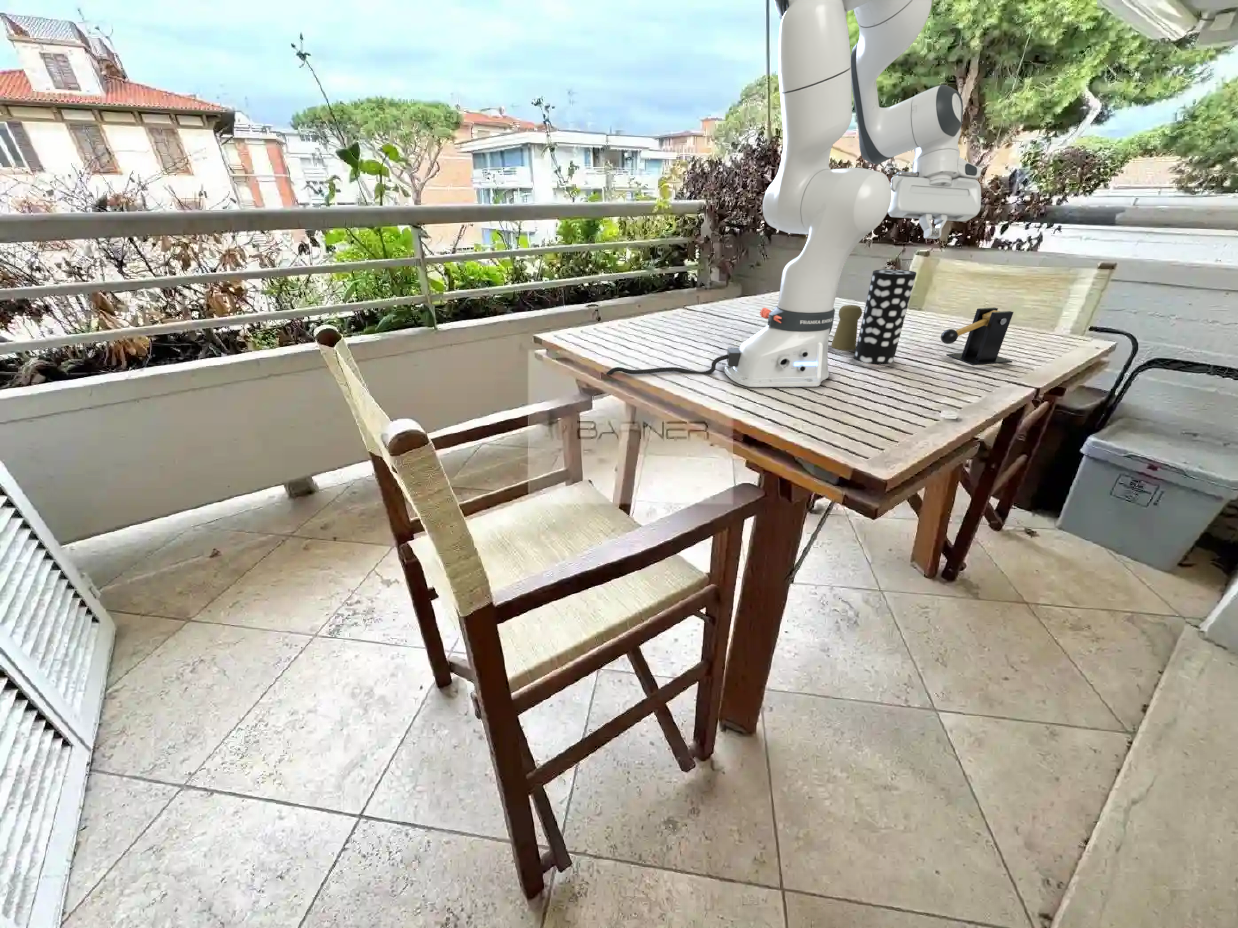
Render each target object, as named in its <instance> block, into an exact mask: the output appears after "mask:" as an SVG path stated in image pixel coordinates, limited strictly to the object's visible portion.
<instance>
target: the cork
mask: <svg viewBox="0 0 1238 928" xmlns="http://www.w3.org/2000/svg"><path fill="white" fill-rule="evenodd" d="M862 314H863V310H862V307H861V306H858V305H855V304H845V305H843V306H841V307H840V308H839V310H838V318H839V320H838V322H837V323H838V324H837V327H836V330H835V333H834V335H833V338H832V341H831V344H830V347H831V348H832V349H835V350H840V351H852V350H856V346H857V339H858V338H857V336H858V326H859V325H858V323H859V320H860V319H861V317H862V316H863V315H862Z"/></svg>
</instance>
